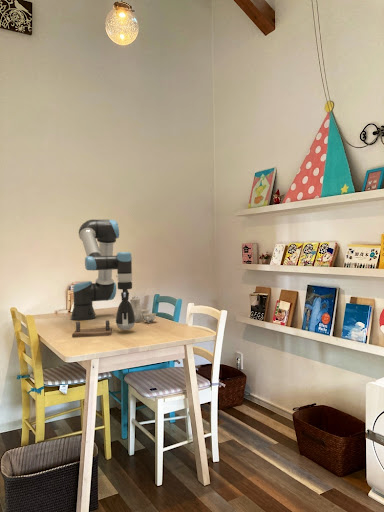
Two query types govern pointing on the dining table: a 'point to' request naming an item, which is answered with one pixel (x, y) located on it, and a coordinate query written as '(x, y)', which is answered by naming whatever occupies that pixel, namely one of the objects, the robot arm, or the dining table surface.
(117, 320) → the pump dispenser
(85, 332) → the holder
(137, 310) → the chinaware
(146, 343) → the dining table surface
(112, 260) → the robot arm
